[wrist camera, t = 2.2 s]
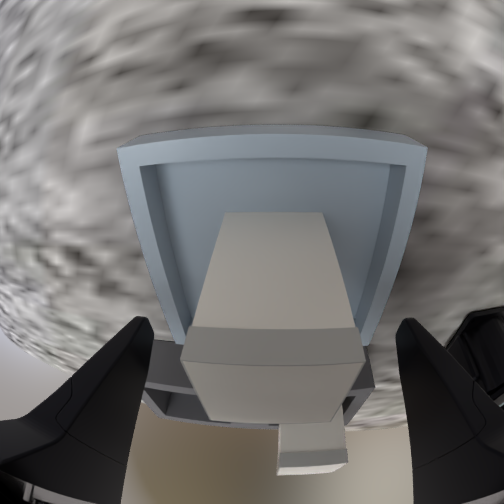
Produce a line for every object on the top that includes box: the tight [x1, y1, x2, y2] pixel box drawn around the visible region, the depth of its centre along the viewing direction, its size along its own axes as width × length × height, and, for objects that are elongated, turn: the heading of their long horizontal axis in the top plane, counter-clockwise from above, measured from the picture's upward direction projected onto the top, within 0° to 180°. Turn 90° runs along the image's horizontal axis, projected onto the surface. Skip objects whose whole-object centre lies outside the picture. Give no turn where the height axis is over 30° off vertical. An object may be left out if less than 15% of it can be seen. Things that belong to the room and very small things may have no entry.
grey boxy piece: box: [142, 340, 375, 475], centre depth 17 cm, size 16×8×8 cm, turn 92°
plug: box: [180, 212, 366, 424], centre depth 9 cm, size 4×4×7 cm
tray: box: [117, 125, 428, 346], centre depth 12 cm, size 11×11×2 cm
